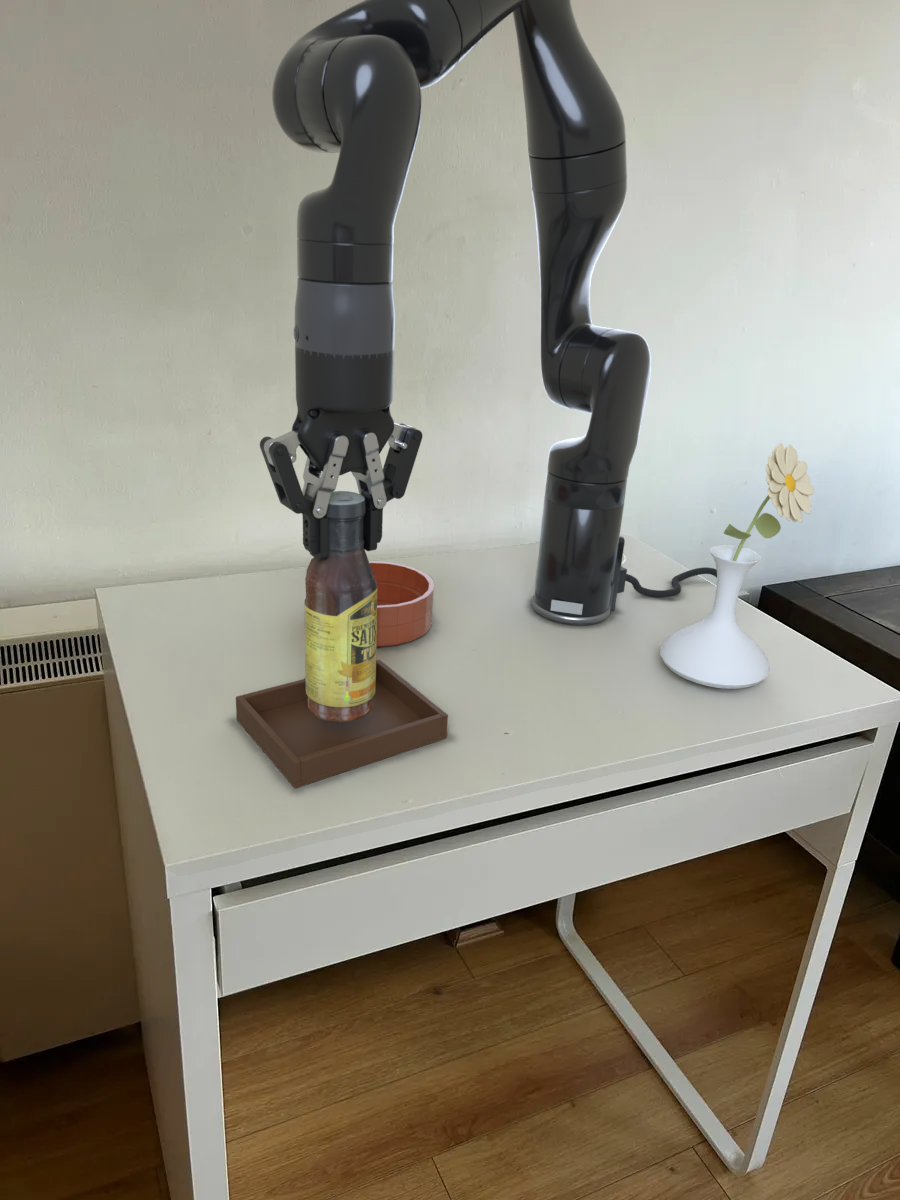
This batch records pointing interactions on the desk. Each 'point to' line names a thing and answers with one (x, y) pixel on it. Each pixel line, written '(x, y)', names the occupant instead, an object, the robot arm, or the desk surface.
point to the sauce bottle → (341, 618)
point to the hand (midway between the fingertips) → (343, 551)
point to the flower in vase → (738, 590)
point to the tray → (338, 728)
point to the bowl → (401, 603)
